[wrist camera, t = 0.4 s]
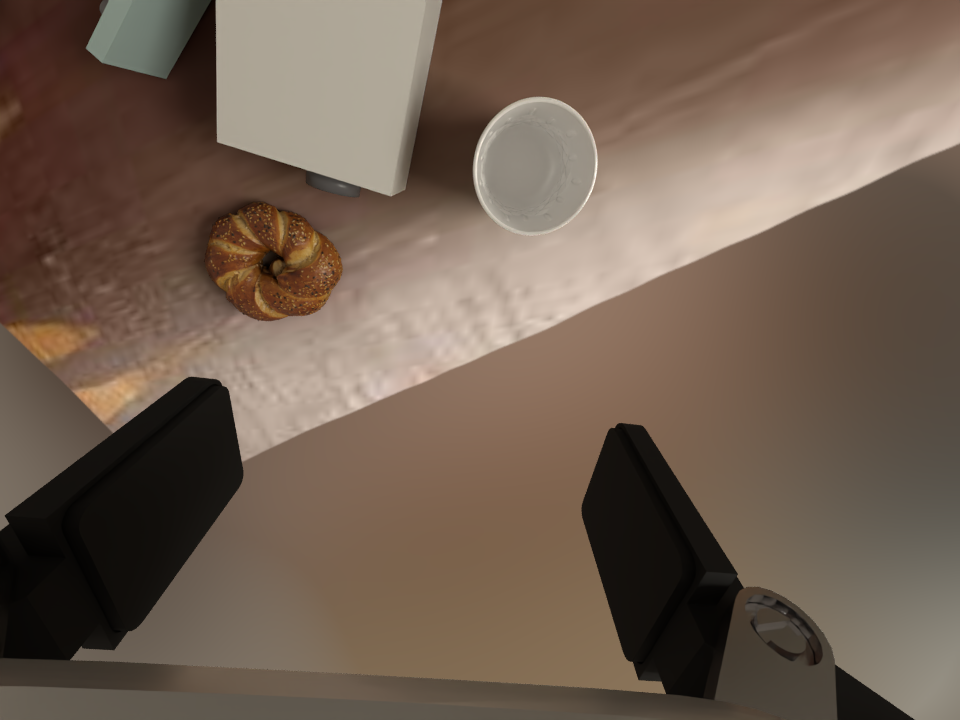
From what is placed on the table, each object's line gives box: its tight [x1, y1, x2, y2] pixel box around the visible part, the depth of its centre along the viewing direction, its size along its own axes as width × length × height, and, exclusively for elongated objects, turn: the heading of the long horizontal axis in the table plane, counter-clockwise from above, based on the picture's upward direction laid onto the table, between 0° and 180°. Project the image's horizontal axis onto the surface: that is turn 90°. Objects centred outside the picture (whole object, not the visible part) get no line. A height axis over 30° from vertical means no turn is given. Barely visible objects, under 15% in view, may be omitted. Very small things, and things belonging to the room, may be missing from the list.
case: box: [216, 0, 442, 197], centre depth 27 cm, size 16×12×7 cm
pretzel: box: [204, 202, 343, 321], centre depth 36 cm, size 12×11×4 cm
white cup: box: [473, 97, 597, 236], centre depth 29 cm, size 8×8×10 cm
